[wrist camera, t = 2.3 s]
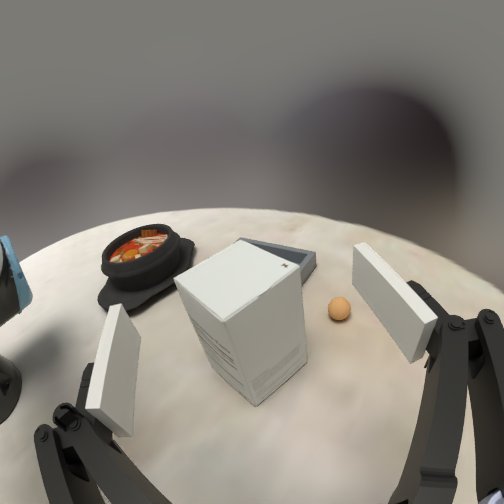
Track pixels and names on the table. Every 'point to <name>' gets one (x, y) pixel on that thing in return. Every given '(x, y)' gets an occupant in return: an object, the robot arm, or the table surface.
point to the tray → (289, 256)
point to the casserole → (142, 265)
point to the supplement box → (247, 317)
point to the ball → (339, 308)
